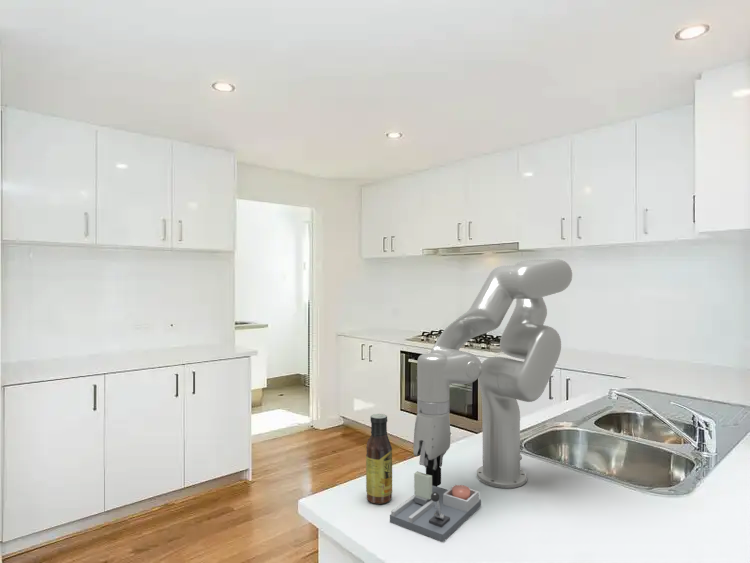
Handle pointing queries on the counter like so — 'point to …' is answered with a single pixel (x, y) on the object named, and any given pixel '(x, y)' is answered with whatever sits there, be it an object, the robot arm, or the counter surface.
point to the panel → (423, 515)
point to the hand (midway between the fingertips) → (433, 483)
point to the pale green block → (422, 488)
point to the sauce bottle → (379, 462)
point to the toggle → (437, 506)
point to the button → (461, 492)
